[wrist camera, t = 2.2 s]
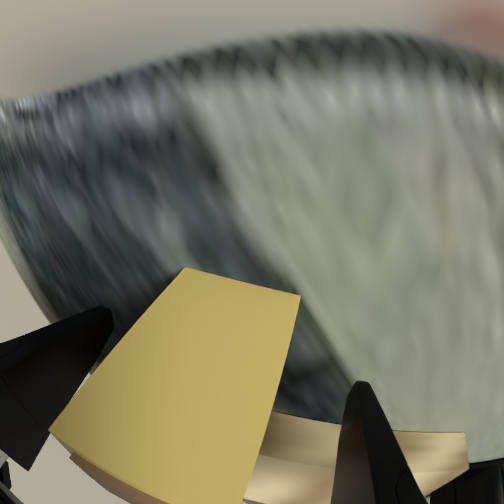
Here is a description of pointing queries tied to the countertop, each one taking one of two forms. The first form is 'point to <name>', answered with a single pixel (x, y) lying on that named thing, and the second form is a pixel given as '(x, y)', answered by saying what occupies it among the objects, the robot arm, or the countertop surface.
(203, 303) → the mustard block
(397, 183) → the countertop surface
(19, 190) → the countertop surface
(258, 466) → the cutting board
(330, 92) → the countertop surface
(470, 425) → the countertop surface
